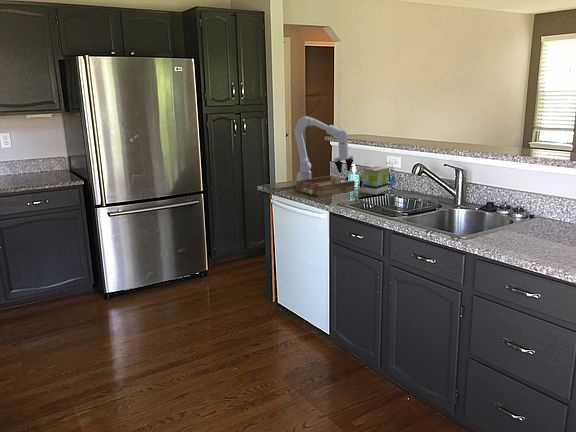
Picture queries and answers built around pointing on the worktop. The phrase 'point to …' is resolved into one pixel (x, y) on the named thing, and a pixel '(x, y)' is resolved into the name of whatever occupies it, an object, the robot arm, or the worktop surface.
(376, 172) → the tea box
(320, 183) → the trap board
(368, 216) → the worktop surface
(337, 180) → the maple cube
